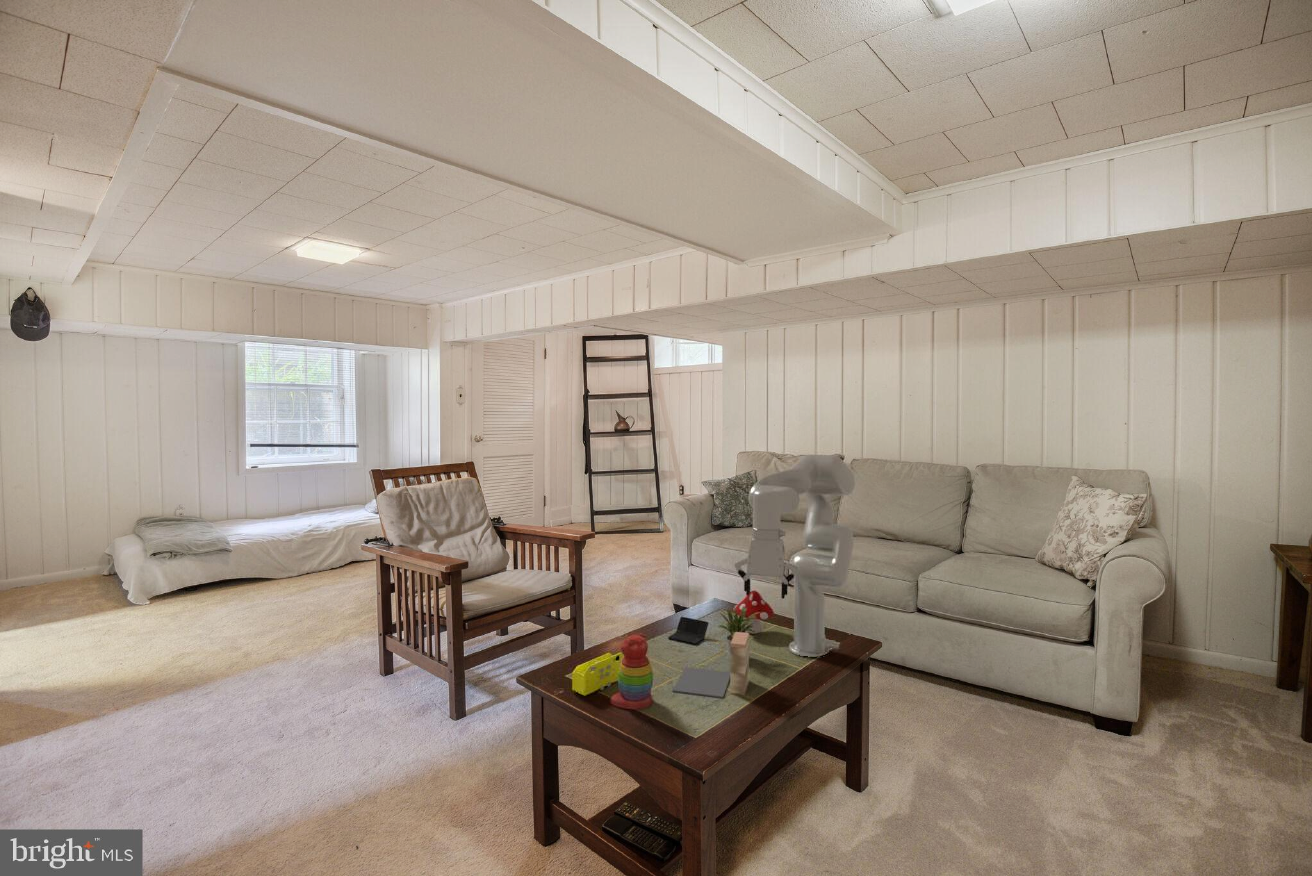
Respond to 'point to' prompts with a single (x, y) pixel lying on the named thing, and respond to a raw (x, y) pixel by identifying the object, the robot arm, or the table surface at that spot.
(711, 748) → the table surface
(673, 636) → the handheld gaming console
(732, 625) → the house plant
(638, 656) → the stacking bear
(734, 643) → the maple block
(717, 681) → the mat
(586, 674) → the yellow toy chassis
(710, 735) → the table surface
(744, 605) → the decorative mushroom
